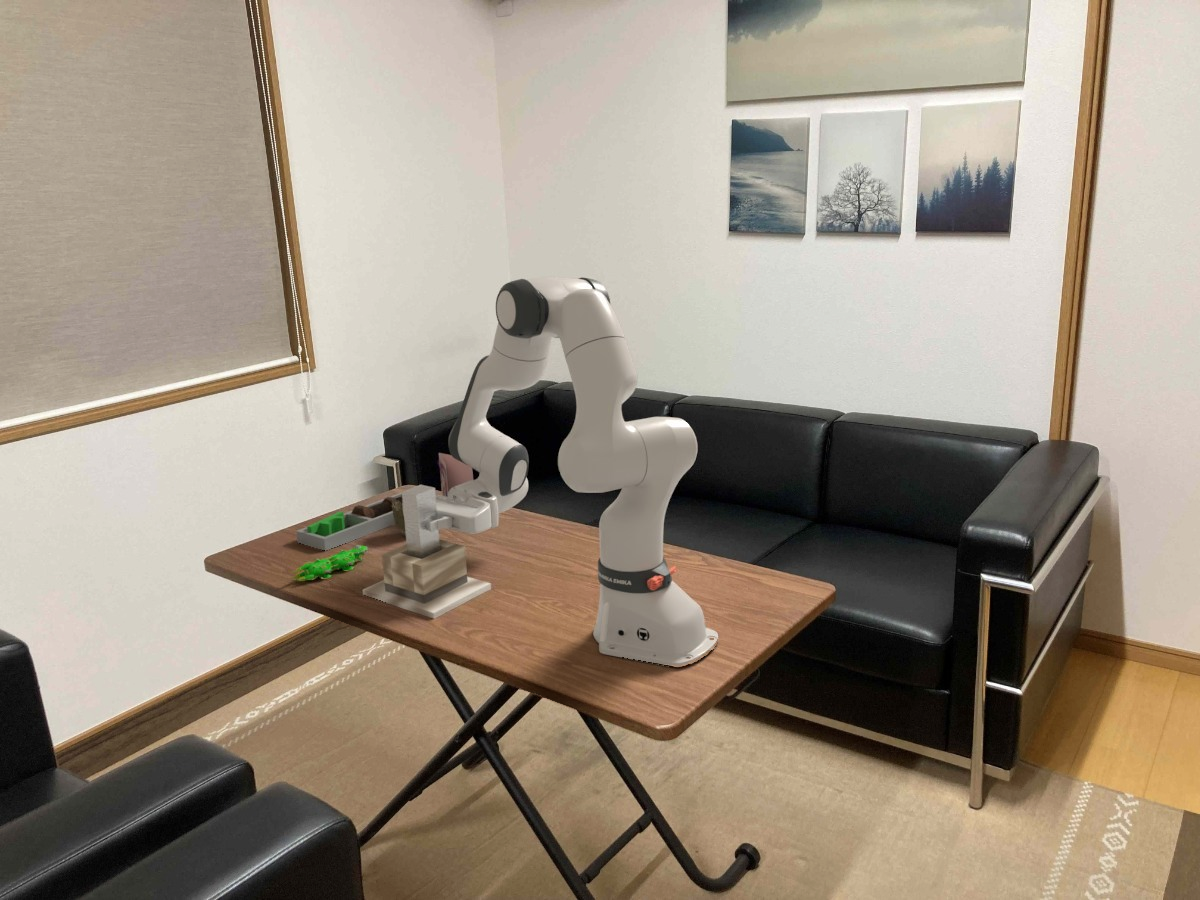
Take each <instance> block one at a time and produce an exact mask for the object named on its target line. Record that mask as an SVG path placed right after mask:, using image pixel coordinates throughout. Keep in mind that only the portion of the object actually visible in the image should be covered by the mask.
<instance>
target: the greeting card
mask: <svg viewBox="0 0 1200 900" xmlns="http://www.w3.org/2000/svg"><path fill="white" fill-rule="evenodd" d="M436 462H437V464H438V467H439V473H440V486H441V495H442V496H446V497H447V494H448V492H449V490H450V489H451V488H453V487H455V486H458V485H460V484H463V483H465V482H468V481H471V480H474V474H473V468H472V467H470V466H469V465H466V464H464V463H462V462H460V461H458V460H456V459H454V458H453V457H452V455H451V454H448V453H447V454H446V453H442V452H438V460H436Z"/></svg>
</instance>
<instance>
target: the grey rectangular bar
mask: <svg viewBox="0 0 1200 900" xmlns="http://www.w3.org/2000/svg"><path fill="white" fill-rule="evenodd" d="M401 492H402V499H403V510H404V521H405V531H406V536H405V539H406V540H405V541H406V542H405V543H406V544H407V553H408V555H409V556H412V557H416V558H420V559H423V558H425V557H427V556H430V555H432V554H434V553H436V552H438V551H440V542H439V539H440V532H439V530H440V529H437V530H435V531H433V532H431V531H428V530H426V526H425V523H426V522H427V521H429V520H437V519H438V518H437V506H436V494H437V493H436V487H433V486H430V485H429V486H428V485H424V484H419V485H415V486H413V487H410V488H408V489H405V490H403V491H401Z"/></svg>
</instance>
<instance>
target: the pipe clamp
mask: <svg viewBox="0 0 1200 900" xmlns="http://www.w3.org/2000/svg"><path fill="white" fill-rule="evenodd" d="M344 513H345V512H344V511H337V512H335V513H334V514H331V515H329V516H327V517H325V518H323V519H320V520H319V521H316V522H314V523H312V524H310V525H308V526H306V527H307V529H308V532H310V533H313V534H317V535H320V536H324V537H326V536H328V535H331V534H334V533H336V532H339V531H341V530H344V529H346V527H345V522H344Z"/></svg>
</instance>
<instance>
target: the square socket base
mask: <svg viewBox="0 0 1200 900" xmlns="http://www.w3.org/2000/svg"><path fill="white" fill-rule="evenodd" d="M439 542H440V551H438V552H436V553H434V554H432V555H430V556H427V557H425V558H423V559H420V558H416V557H412V556H409V555H408V553H407V543H405V544H404V545H402V546H399V547H396V548H394V549H392V550H390V551H389V550H388V551H387V552H385V553H383V554H381V559H382V560H381V561H382V568H383V569H382V570H383V580H381V581H379V582H377V583H374V584H371V585H370V586H367V587H366V588H363V589H362V595H363V594H364V595H367V596H370V597H372V598H371V599H373V598H375V599H374V600H376V599H378V600H377V601H379V600H381V601H380V602H382V601H383V603H385V602H386V603H385V604H388V605H392V606H394V607H397V608H401V609H403V610H406V611H410V612H412V613H416V614H417V615H418V614H419V615H422V616H425V617H427V618H430V619H431V618H432V619H434V620H435V619H436V618H438V617H441V616H442V615H444V614H446V613H448V612H449V611H452V610H453V609H456V608H457V607H459V606H461V605H464V604H465V603H467V602H469V601H471V600H473V599H476V597H479V596H480V595H483V594H484V593H486V592H488V591H490V590H492V583H490V582H487V581H485V580H484V581H483V580H480V579H477V578H475V577H474V578H473V577H470V576H468V572H467V571H468V568H467V556H466V555H467V554H466V546H465V545H463V544H459V543H456V542H455V543H454V542H452V541H447V540H443V539H440V538H439ZM364 595H363V596H364ZM367 596H366V597H367ZM370 597H369V598H370Z"/></svg>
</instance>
